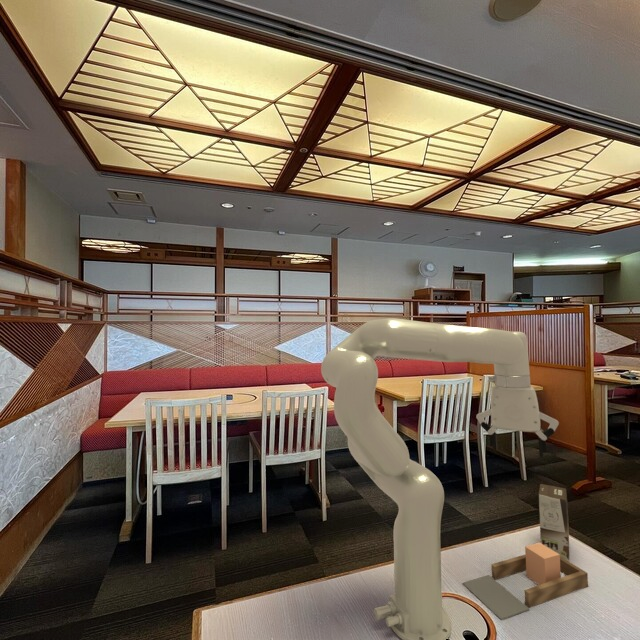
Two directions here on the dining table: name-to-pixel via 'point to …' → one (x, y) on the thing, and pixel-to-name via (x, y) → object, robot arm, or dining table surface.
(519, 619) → the dining table surface
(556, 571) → the block
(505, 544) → the dining table surface
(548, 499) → the coffee box
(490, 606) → the mat
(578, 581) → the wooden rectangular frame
